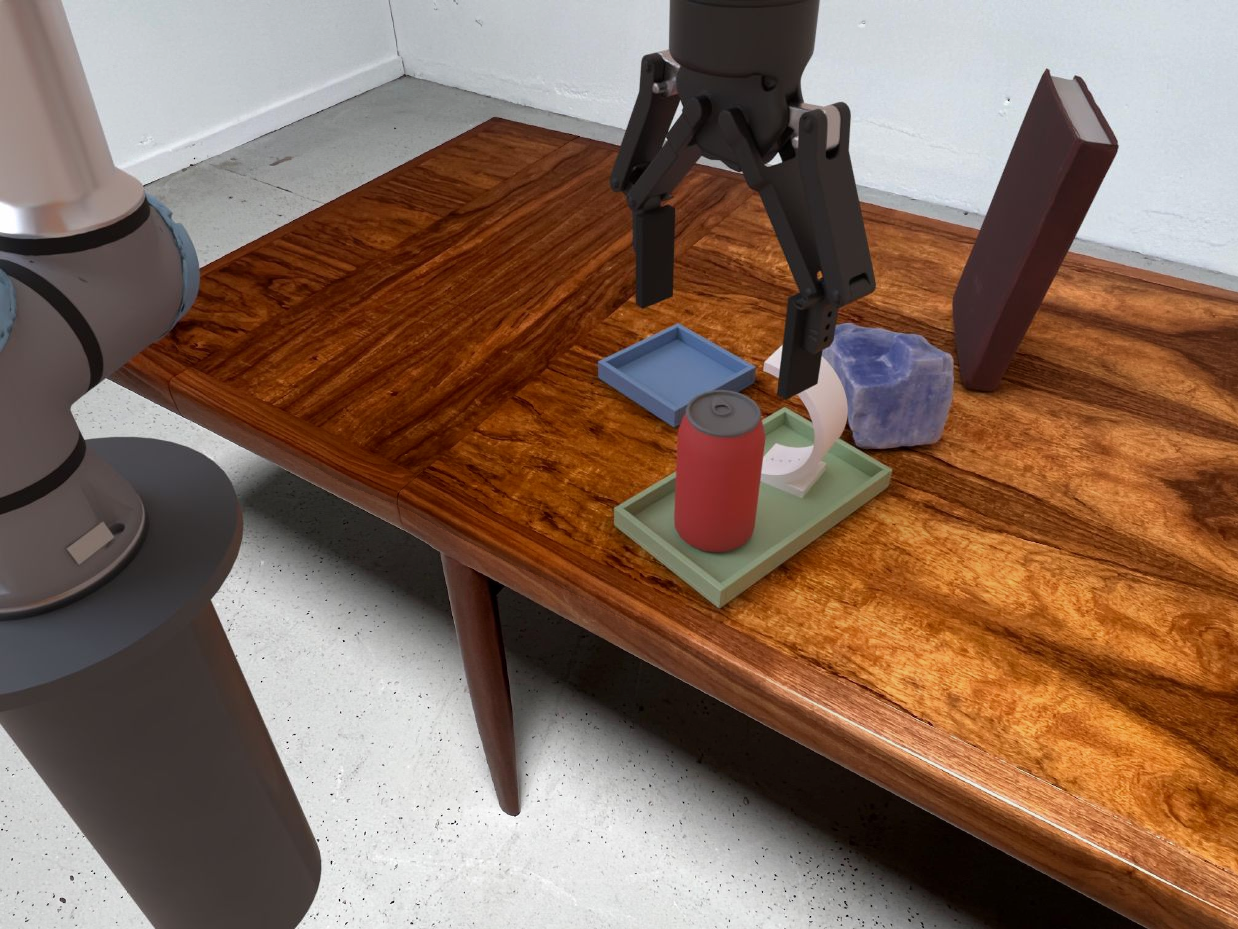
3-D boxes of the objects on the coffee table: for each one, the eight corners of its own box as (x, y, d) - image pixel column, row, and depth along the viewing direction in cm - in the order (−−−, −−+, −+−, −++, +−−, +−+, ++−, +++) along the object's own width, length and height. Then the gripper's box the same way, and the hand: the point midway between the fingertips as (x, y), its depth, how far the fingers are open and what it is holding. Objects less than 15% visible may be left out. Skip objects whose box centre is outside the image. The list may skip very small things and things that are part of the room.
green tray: (719, 609, 69) (721, 591, 67) (613, 525, 76) (613, 507, 74) (888, 486, 79) (893, 469, 78) (782, 423, 86) (784, 406, 85)
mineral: (981, 354, 79) (878, 366, 76) (956, 448, 84) (859, 461, 81) (895, 293, 90) (803, 301, 88) (878, 378, 96) (791, 388, 93)
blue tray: (674, 428, 86) (674, 411, 85) (598, 377, 92) (597, 361, 91) (754, 383, 92) (756, 366, 90) (677, 338, 98) (678, 322, 97)
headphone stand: (774, 450, 83) (790, 336, 75) (836, 475, 80) (859, 359, 72) (750, 477, 80) (763, 362, 72) (813, 503, 77) (834, 387, 69)
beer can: (741, 497, 78) (754, 381, 70) (764, 551, 73) (780, 432, 65) (666, 506, 77) (670, 390, 69) (683, 561, 72) (690, 443, 64)
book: (1125, 149, 72) (1070, 138, 72) (999, 396, 90) (955, 387, 90) (1090, 73, 84) (1043, 65, 84) (985, 305, 102) (946, 297, 102)
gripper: (1009, 12, 39) (913, 410, 53) (647, -69, 55) (645, 255, 68) (895, 43, 36) (824, 461, 49) (543, -52, 51) (563, 285, 65)
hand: (720, 342), depth 59 cm, fingers open, 13 cm apart
